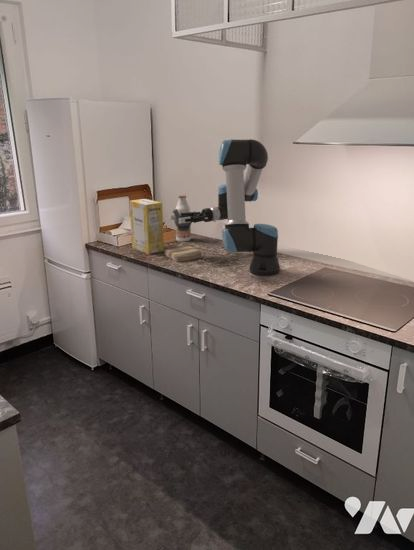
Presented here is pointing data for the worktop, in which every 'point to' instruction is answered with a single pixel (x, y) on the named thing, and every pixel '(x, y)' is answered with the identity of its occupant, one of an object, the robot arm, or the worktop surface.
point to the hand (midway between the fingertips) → (174, 219)
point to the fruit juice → (181, 208)
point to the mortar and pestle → (182, 225)
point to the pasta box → (146, 225)
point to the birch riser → (182, 253)
